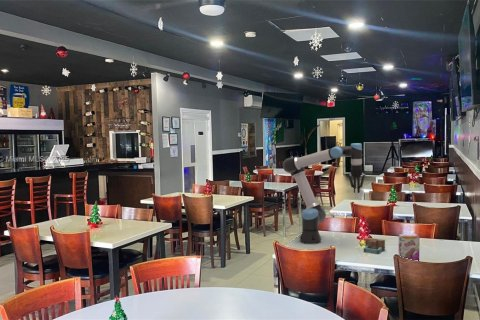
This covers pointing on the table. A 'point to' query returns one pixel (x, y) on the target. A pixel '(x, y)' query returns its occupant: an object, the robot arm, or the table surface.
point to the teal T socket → (373, 250)
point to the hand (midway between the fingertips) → (356, 197)
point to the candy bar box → (409, 246)
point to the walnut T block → (375, 243)
